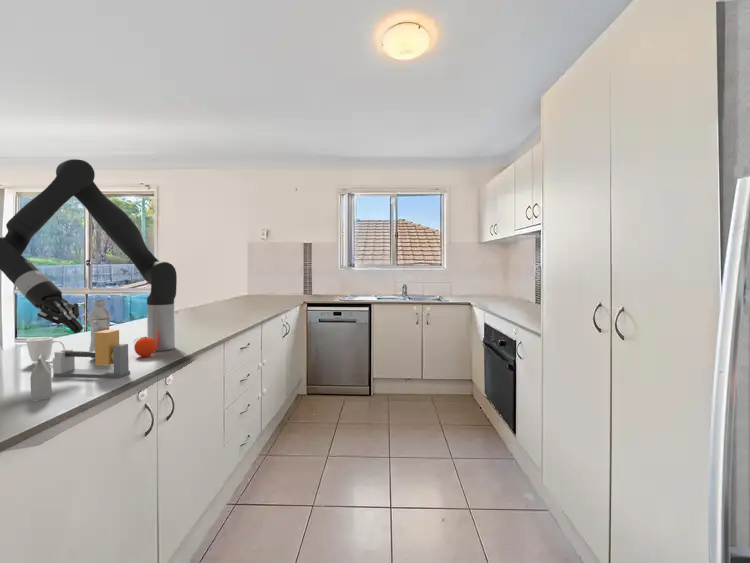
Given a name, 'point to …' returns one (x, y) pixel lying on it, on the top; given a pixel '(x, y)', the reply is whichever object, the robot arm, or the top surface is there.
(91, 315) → the plastic bottle
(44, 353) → the cup
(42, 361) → the milk carton
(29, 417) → the top surface
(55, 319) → the robot arm
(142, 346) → the clementine
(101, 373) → the gray horizontal rod stand
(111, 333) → the sleeve
